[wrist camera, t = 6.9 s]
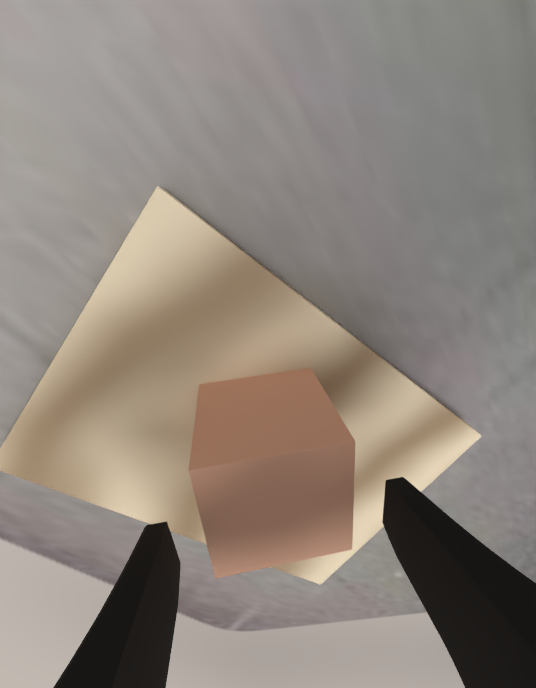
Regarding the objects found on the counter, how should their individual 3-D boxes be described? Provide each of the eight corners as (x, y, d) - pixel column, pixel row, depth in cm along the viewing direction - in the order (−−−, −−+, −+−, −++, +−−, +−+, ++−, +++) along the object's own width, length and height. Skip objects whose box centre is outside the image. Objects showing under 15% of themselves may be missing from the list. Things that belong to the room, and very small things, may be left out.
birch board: (462, 419, 18) (481, 436, 17) (314, 561, 21) (320, 584, 20) (164, 189, 12) (157, 185, 10) (10, 443, 15) (-11, 466, 13)
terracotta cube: (310, 367, 14) (355, 441, 9) (314, 453, 16) (352, 549, 11) (199, 384, 13) (188, 470, 9) (217, 470, 15) (215, 578, 11)
